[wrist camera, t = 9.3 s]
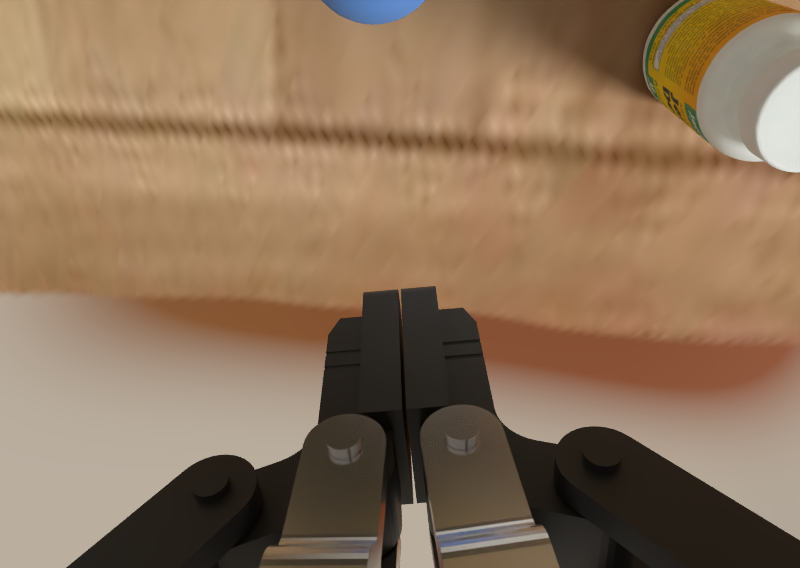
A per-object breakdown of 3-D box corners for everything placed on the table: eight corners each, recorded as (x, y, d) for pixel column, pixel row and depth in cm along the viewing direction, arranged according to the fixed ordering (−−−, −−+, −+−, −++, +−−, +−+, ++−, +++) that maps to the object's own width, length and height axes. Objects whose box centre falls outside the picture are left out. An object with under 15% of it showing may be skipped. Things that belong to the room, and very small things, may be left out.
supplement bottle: (785, 20, 28) (944, 79, 20) (704, 126, 31) (818, 215, 23) (690, -39, 27) (821, -1, 19) (614, 77, 30) (701, 153, 22)
